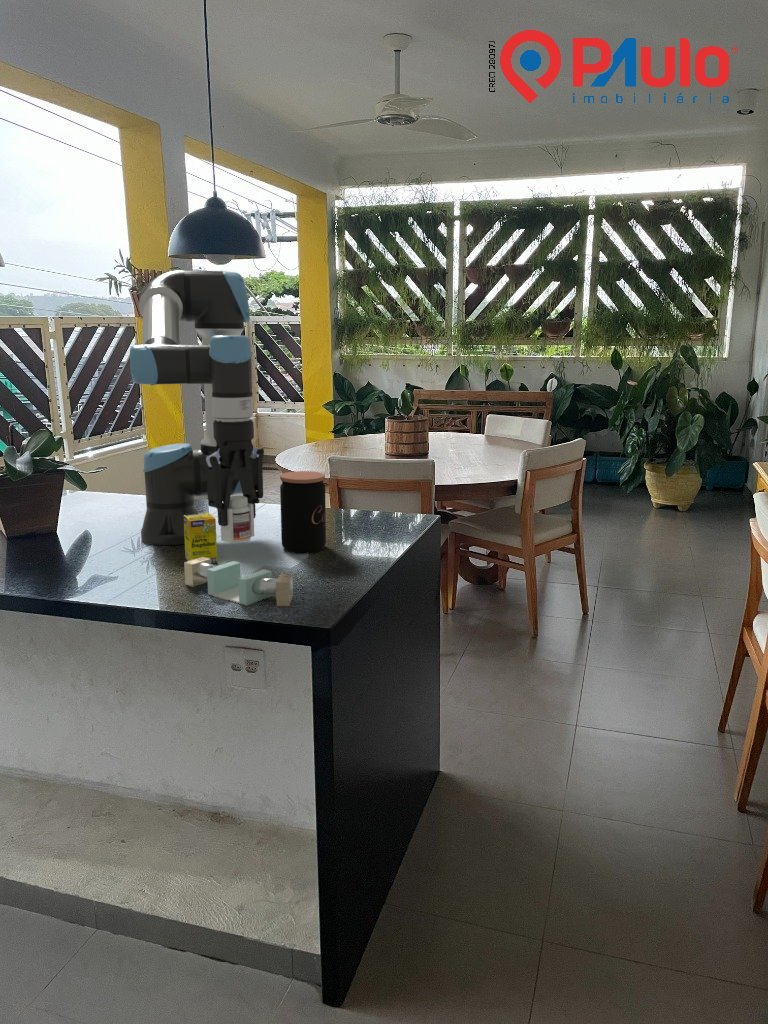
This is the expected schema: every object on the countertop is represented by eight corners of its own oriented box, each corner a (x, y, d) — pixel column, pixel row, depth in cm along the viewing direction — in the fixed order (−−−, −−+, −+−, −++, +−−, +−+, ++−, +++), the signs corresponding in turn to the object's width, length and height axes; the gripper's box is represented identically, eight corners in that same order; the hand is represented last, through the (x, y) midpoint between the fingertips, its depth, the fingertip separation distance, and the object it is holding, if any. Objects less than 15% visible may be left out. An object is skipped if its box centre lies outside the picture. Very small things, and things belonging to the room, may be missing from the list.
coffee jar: (318, 555, 178) (317, 480, 174) (275, 552, 180) (273, 478, 176) (331, 543, 189) (330, 472, 184) (289, 540, 191) (288, 470, 186)
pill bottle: (227, 536, 151) (225, 495, 149) (252, 536, 152) (250, 495, 150) (224, 543, 147) (222, 500, 145) (249, 542, 147) (248, 500, 145)
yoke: (208, 594, 152) (206, 569, 151) (234, 585, 158) (233, 561, 157) (246, 606, 146) (245, 580, 145) (272, 596, 151) (271, 571, 150)
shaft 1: (182, 583, 158) (181, 561, 157) (201, 577, 162) (200, 556, 161) (212, 592, 153) (210, 570, 152) (230, 586, 157) (229, 564, 156)
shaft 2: (249, 605, 146) (248, 581, 145) (254, 596, 151) (253, 573, 150) (290, 606, 146) (290, 582, 145) (294, 597, 151) (293, 574, 150)
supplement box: (191, 568, 168) (189, 520, 166) (185, 561, 173) (182, 514, 171) (218, 565, 171) (216, 517, 168) (211, 558, 176) (209, 512, 174)
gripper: (210, 425, 134) (216, 551, 140) (280, 416, 148) (283, 532, 154) (182, 421, 139) (189, 544, 144) (253, 413, 153) (257, 526, 158)
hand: (237, 537), depth 149 cm, fingers closed on pill bottle, 5 cm apart
